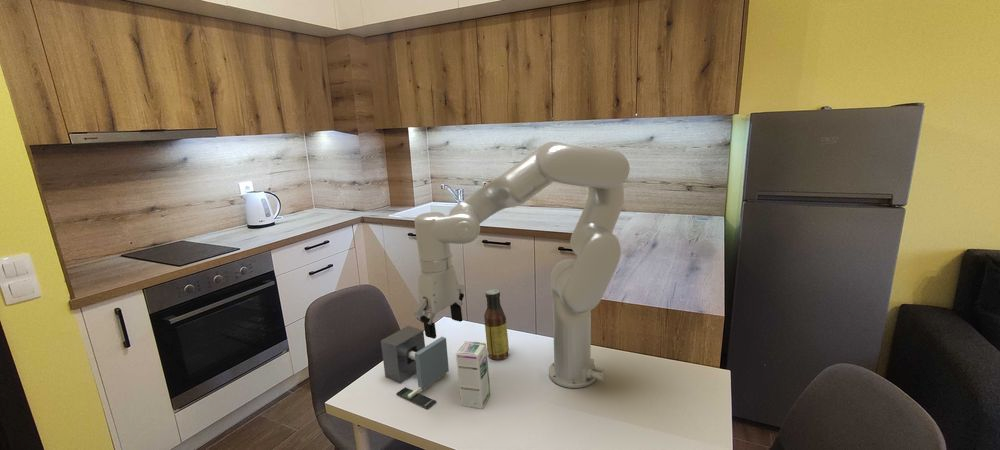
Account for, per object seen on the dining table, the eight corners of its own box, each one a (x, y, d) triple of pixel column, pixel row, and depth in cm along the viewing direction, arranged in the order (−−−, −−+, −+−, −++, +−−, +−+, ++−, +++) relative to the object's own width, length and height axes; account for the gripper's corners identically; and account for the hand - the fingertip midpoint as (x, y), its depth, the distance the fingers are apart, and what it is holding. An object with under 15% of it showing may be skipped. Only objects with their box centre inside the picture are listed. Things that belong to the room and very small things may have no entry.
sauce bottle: (513, 352, 130) (509, 289, 126) (501, 363, 125) (498, 297, 120) (494, 347, 134) (490, 285, 129) (482, 357, 129) (478, 293, 124)
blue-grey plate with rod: (448, 371, 121) (445, 337, 118) (411, 398, 110) (406, 362, 107) (411, 356, 129) (407, 325, 127) (372, 380, 118) (367, 346, 116)
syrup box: (482, 409, 106) (479, 354, 102) (460, 405, 108) (455, 352, 104) (490, 395, 111) (487, 342, 108) (468, 392, 113) (464, 340, 109)
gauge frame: (464, 380, 118) (462, 343, 115) (427, 409, 107) (423, 368, 104) (412, 360, 129) (408, 325, 127) (373, 384, 118) (368, 347, 116)
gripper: (448, 251, 116) (455, 311, 120) (398, 273, 102) (408, 340, 106) (470, 254, 111) (477, 317, 116) (421, 278, 98) (431, 348, 102)
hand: (444, 328), depth 111 cm, fingers open, 9 cm apart
